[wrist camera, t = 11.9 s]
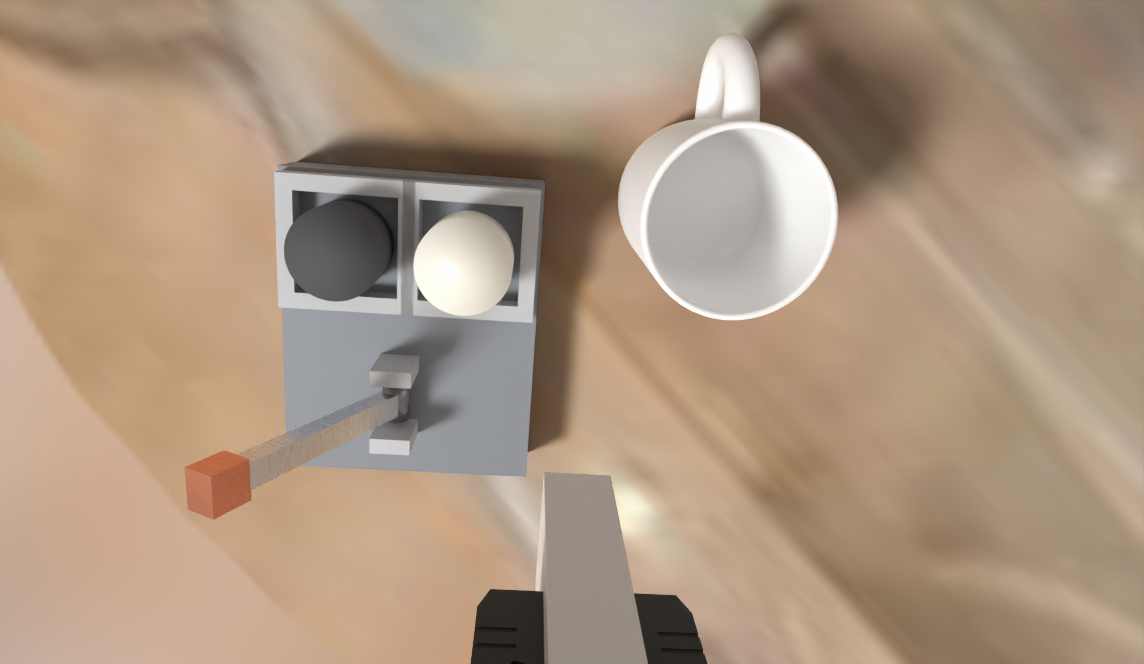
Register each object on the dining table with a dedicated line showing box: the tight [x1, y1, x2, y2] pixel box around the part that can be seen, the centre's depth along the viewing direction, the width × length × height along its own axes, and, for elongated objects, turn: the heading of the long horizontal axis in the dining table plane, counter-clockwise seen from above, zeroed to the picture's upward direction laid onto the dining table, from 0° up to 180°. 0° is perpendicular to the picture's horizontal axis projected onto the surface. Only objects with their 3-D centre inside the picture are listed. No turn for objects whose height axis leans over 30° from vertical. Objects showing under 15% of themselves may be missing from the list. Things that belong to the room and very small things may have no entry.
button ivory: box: [413, 211, 514, 316], centre depth 35 cm, size 4×4×3 cm
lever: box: [185, 387, 410, 519], centre depth 34 cm, size 2×1×13 cm
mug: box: [618, 33, 838, 320], centre depth 36 cm, size 12×8×10 cm
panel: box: [274, 162, 545, 477], centre depth 39 cm, size 16×13×6 cm
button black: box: [284, 199, 394, 302], centre depth 36 cm, size 4×4×3 cm
